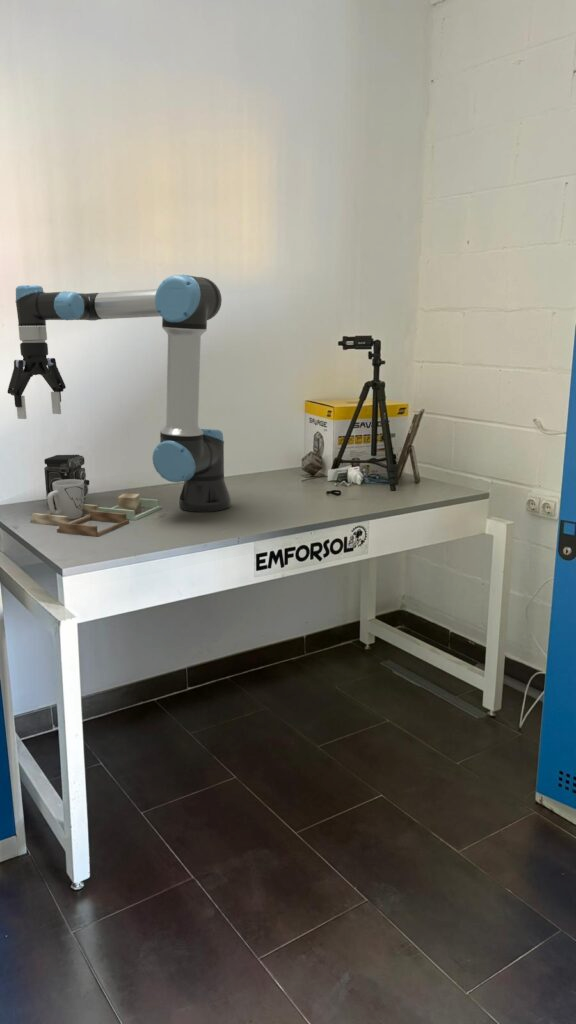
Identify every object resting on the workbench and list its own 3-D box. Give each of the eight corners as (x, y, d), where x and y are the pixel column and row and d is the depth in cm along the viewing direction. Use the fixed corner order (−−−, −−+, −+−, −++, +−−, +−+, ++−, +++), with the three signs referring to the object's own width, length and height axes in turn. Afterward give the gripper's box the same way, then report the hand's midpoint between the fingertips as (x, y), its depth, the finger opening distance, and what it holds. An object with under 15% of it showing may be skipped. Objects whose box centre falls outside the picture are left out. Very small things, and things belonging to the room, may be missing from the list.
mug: (60, 524, 208) (57, 488, 205) (39, 520, 212) (36, 484, 210) (92, 516, 217) (90, 481, 215) (71, 512, 221) (69, 478, 219)
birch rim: (100, 514, 219) (100, 505, 218) (69, 526, 206) (69, 517, 205) (63, 510, 223) (62, 502, 223) (30, 522, 210) (29, 513, 209)
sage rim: (161, 508, 226) (161, 500, 225) (135, 520, 212) (135, 511, 212) (124, 505, 230) (124, 496, 229) (96, 516, 217) (96, 507, 216)
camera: (78, 511, 223) (75, 459, 219) (45, 509, 225) (41, 458, 221) (94, 503, 232) (91, 454, 229) (62, 501, 234) (58, 452, 231)
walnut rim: (129, 523, 209) (128, 514, 209) (98, 536, 196) (98, 527, 195) (89, 519, 213) (89, 510, 213) (57, 532, 200) (56, 522, 200)
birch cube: (140, 510, 223) (140, 493, 222) (136, 514, 218) (135, 497, 217) (124, 510, 224) (123, 493, 223) (118, 514, 219) (117, 497, 218)
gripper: (55, 340, 233) (61, 411, 238) (-11, 342, 211) (-3, 420, 216) (74, 340, 229) (79, 412, 234) (9, 342, 208) (16, 421, 213)
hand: (39, 416), depth 225 cm, fingers open, 13 cm apart
